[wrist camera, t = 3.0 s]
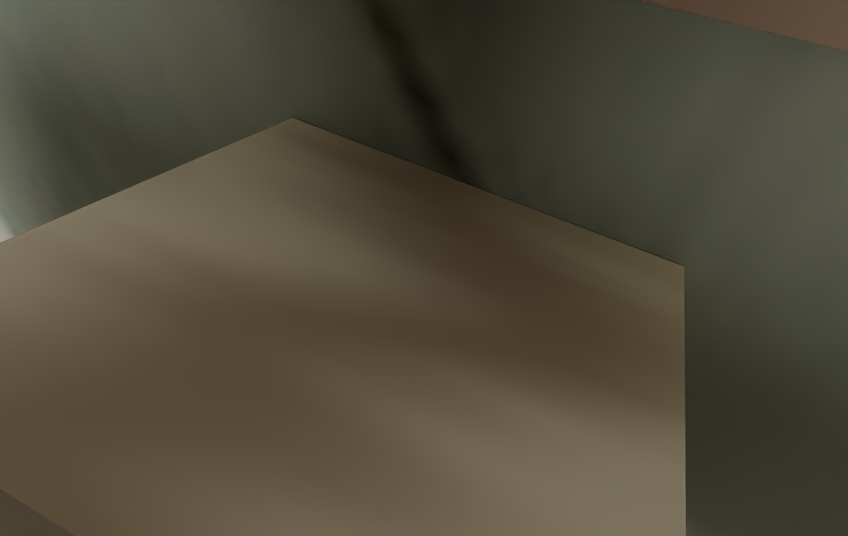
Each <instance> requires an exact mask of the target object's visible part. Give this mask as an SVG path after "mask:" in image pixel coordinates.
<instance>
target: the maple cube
mask: <svg viewBox="0 0 848 536" xmlns="http://www.w3.org/2000/svg"><path fill="white" fill-rule="evenodd" d="M0 536H686V473H685V313H684V266H681V265H679V264H676V263H673V262H671V261H668V260H665V259H663V258H660V257H658V256H655V255H652V254H650V253H647V252H644V251H642V250H639V249H637V248H634V247H631V246H629V245H626V244H623V243H621V242H618V241H615V240H613V239H610V238H608V237H605V236H602V235H600V234H597V233H594V232H592V231H589V230H587V229H584V228H581V227H579V226H576V225H573V224H571V223H568V222H565V221H563V220H560V219H558V218H555V217H552V216H550V215H547V214H544V213H542V212H539V211H537V210H534V209H531V208H529V207H526V206H523V205H521V204H518V203H515V202H513V201H510V200H508V199H505V198H502V197H500V196H497V195H494V194H492V193H489V192H487V191H484V190H481V189H479V188H476V187H473V186H471V185H468V184H465V183H463V182H460V181H458V180H455V179H452V178H450V177H447V176H444V175H442V174H439V173H437V172H434V171H431V170H429V169H426V168H423V167H421V166H418V165H415V164H413V163H410V162H408V161H405V160H402V159H400V158H397V157H394V156H392V155H389V154H386V153H384V152H381V151H379V150H376V149H373V148H371V147H368V146H365V145H363V144H360V143H358V142H355V141H352V140H350V139H347V138H344V137H342V136H339V135H336V134H334V133H331V132H329V131H326V130H323V129H321V128H318V127H315V126H313V125H310V124H308V123H305V122H302V121H300V120H297V119H294V118H290V119H288V120H286V121H283V122H281V123H279V124H276V125H274V126H272V127H269V128H267V129H265V130H262V131H260V132H258V133H255V134H253V135H251V136H248V137H246V138H244V139H241V140H239V141H237V142H234V143H232V144H230V145H227V146H225V147H223V148H220V149H218V150H216V151H213V152H211V153H209V154H206V155H204V156H202V157H199V158H197V159H195V160H192V161H190V162H188V163H185V164H183V165H181V166H178V167H176V168H174V169H171V170H169V171H167V172H164V173H162V174H160V175H157V176H155V177H153V178H150V179H148V180H146V181H143V182H141V183H139V184H136V185H134V186H132V187H129V188H127V189H125V190H122V191H120V192H118V193H115V194H113V195H111V196H108V197H106V198H104V199H101V200H99V201H97V202H94V203H92V204H90V205H87V206H85V207H83V208H80V209H78V210H76V211H73V212H71V213H69V214H66V215H64V216H62V217H59V218H57V219H55V220H52V221H50V222H48V223H45V224H43V225H41V226H38V227H36V228H34V229H31V230H29V231H27V232H24V233H22V234H20V235H17V236H15V237H13V238H10V239H8V240H6V241H3V242H1V243H0Z"/></svg>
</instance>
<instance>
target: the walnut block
mask: <svg viewBox="0 0 848 536" xmlns="http://www.w3.org/2000/svg"><path fill="white" fill-rule="evenodd" d="M641 1H645V2H649V3H653V4H657V5H661V6H665V7H669V8H673V9H677V10H681V11H685V12H689V13H693V14H697V15H702V16H706V17H710V18H714V19H718V20H722V21H726V22H730V23H734V24H738V25H742V26H746V27H750V28H754V29H758V30H762V31H766V32H770V33H775V34H779V35H783V36H787V37H791V38H795V39H799V40H803V41H807V42H811V43H815V44H819V45H823V46H827V47H831V48H835V49H839V50H843V51H848V0H641Z"/></svg>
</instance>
